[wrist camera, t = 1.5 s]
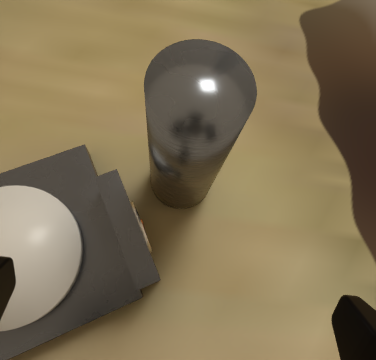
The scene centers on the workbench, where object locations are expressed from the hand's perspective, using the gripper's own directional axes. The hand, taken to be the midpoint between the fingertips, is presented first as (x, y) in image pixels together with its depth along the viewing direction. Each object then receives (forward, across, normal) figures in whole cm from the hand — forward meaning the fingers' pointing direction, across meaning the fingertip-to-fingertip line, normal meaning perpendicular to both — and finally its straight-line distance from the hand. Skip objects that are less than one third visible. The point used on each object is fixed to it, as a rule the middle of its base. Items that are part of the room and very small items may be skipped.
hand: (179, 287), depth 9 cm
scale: (+10, +9, +9) cm, 16 cm away
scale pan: (+9, +10, +8) cm, 15 cm away
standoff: (+15, 0, +4) cm, 15 cm away
